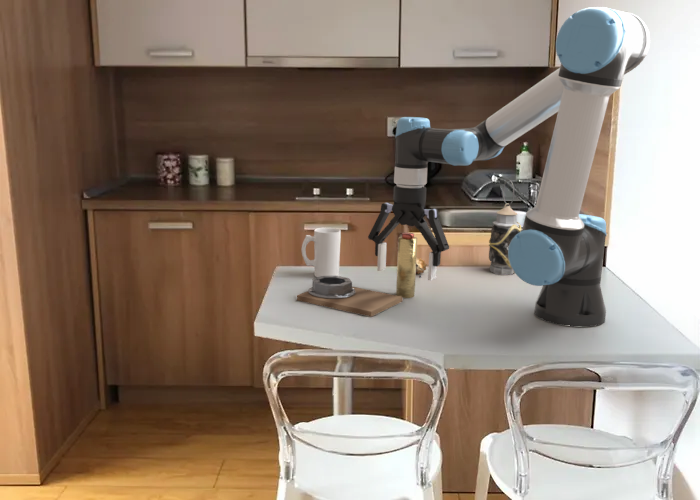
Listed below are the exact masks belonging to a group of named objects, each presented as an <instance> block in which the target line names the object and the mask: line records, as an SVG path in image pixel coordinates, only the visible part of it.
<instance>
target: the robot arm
mask: <svg viewBox="0 0 700 500" xmlns="http://www.w3.org/2000/svg"><path fill="white" fill-rule="evenodd" d="M650 44H651V38H650V31H649V29H648V26H647V25H646V23H645V22H644V21H643V19H642V18H640V16H638V15H636V14H634V13H632V12H628V11H622V10H617V9H612V8H610V7H609V8H608V7H606V6H602V7H601V6H600V7H599V6H594V7H593V6H592V7H586V8H582V9H580V10H578V11H576V12H574V13H573V14H572V15H570V16H569V17H568V18H566V20H565V21H564V22H563V23H562V25H561V26H560V28H559V31H558V33H557V35H556V40H555V52H556V56H557V57H558V61H559V62H560V67H559V68H557V69H555V70H554V71H553V72H551V73H550V74H549V75H547V76H546V77H545V78H543V79H541V80H540V81H538V82H537V83H536V84H534V85H533V86H532V87H530V88H528V89H527V90H525V92H523V93H521V94H520V95H518V96H517V97H516V98H514V99H513V100H512V101H510V102H508V103H507V104H505V106H503V107H501V108H500V109H499V110H497V111H496V112H494V113H492V115H489V117H487V118H486V119H485V120H483V121H482V122H480V123H479V124H477V125H476V126H474V127H466V128H450V129H448V128H434V127H431V122H430V119H429V118H426V117H419V116H418V117H416V116H404V117H400V118H398V120H397V122H396V129H395V136H394V138H395V160H394V161H395V162H394V171H393V172H394V173H393V174H394V175H393V183H394V184H396V185H394V187H393V199H392V200H393V203H391V202H384V203H381V206H380V211H379V214H378V216H377V218H376V220H375V222H374V223H373V226H372V228H371V230H370V232H369V234H368V236H367V238H368V239H367V240H370V241H372V242H374V245H375V247H374V256H375V257H377V265H376V266H377V268H376V270H377V272H381V271H385V270H386V268H387V267H386V266H387V264H386V263H387V242H385V240H386V239H387V238H388V236H390V234H391V233H392V232H393V231H394V230H395V229H396V228H397V227H398V226H399V224H400V225H401V226H405V225H406V226H409V227H414V226H415V228H416V229H417V230H418V231H419V232H420V234H421V235H422V237H423V239H424V240H425V242H426V243H427V245H428V247H429V248H430V249H431V251H429V255H428V272H427V273H428V275H427V281H433V280H435V279H437V268H438V266H439V267H440V266H441V265H440V264H441V257H442V252H445V251H447V250H449V249H450V245H449V243H448V240H447V237H446V234H445V232H444V229H443V227H442V224H441V221H440V219H439V210H438V209H437V208H436V207H435V208H431V209H430V208H429V209H428V208H426V203H427V202H426V200H427V187H426V184H427V183H428V163H429V162H431V163H439V164H443V165H445V164H446V165H452V166H455V167H456V166H469V165H471V164H472V163H473V162H476V161H488V160H490V159H494V158H496V157H499V155H501V153H502V152H503V150H504V148H505V147H506V146H507V145H509V144H511V143H512V142H514V141H515V140H517V139H518V138H520V137H522V136H523V135H524V134H526V133H527V132H529V131H531V130H532V129H534V128H536V127H537V126H538V125H539V124H541V123H543V122H544V121H546V120H547V119H549V118H550V117H553V116H554V115H555V114H557V115H556V119H555V124H554V129H553V132H552V136H551V141H550V145H549V149H548V153H547V157H546V160H545V161H546V162H545V165H544V170H543V174H542V178H541V182H540V186H539V191H538V195H537V200H536V204H535V206H534V207H532V208H531V209H529V210H527V211H526V213H525V216H524V219H523V221H524V222H523V226H522V228H521V231H520V232H519V233H518V234H517V235H516V236H515V237H514V238H513V239H512V240H511V242H510V245H509V249H508V258H509V262H510V265H511V267H512V268H513V270H514V271H515V273H514V274H515V275H516V277H518V278H519V279H520V280H522V281H523V282H525V283H526V284H528V285H530V286H535V287H541V290H540V292H539V294H538V295H537V296H538V297H537V298H536V301H535V305H534V316H536V317H537V318H539V319H540V320H543V321H545V322H547V323H552V324H555V325H559V326H565V325H570V326H569V327H574V326H590V327H596V326H600V325H602V324H604V323H605V322H606V315H607V310H606V305H605V301H604V295H603V291H602V287H601V281H602V273H603V272H602V271H603V264H604V257H605V256H604V254H605V246H606V239H607V238H606V237H607V234H608V233H607V223H606V220H605V219H604V218H603V217H600V216H596V215H595V216H594V215H590V214H589V215H588V214H582V213H581V214H580V212H581V209H582V206H583V205H582V204H583V200H584V196H585V193H586V189H587V185H588V181H589V177H590V172H591V169H592V166H593V162H594V159H595V155H596V150H597V146H598V143H599V139H600V135H601V131H602V127H603V123H604V119H605V115H606V112H607V108H608V104H609V100H610V97H611V96H612V94H613V93H615V92H617V91H618V90H620V89H621V88H622V84H623V83H622V82H623V79H624V76H625V75H626V74H628V73H630V72H632V71H633V70H635V69H636V68H637V67H638V66H639V65H640V64H642V62H643V61H644V60H645V58H646V56H647V54H648V52H649V49H650ZM391 212H392V213H393V215H394V216H393V218H391V219H390V221H389V223H388V224H387V225H386V226H385V227H384V224H385V223H386V221H387V219H388V217H389V215H390V213H391ZM425 216H426V218H427V219H428V220H429V224H430V227H431V228H430V227H429V226H428V223H427V220H426V219H425V218H424V217H425ZM383 227H384V228H383ZM382 228H383V229H382ZM431 229H432V231H431ZM595 325H596V326H595Z"/></svg>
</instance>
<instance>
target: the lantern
mask: <svg viewBox="0 0 700 500" xmlns="http://www.w3.org/2000/svg"><path fill="white" fill-rule="evenodd" d="M507 182H510V183H511V185H512V191H513V192H512V200H511V201H510V203H507V202H506V198H505V186H506V184H507ZM502 196H503V197H502V198H503V202H504V203H505V204H504V207H502V208H501V209H500V210H498V211H496V218H495V220H494V221H492V224H493V226H492V227H491V230H490V239H489V240H488V243H489V244H488V246H489V249H488V259H489V261H490V264H489V265H490V266H489V271H490V272H491V273H493V274H496V275H501V276H504V275H507V276H508V274H510V275H514V274H515V271H514V270H513V268H512V267H511V265H510V262H509V258H508V249H509V245H510V242H511V240H512V239H513V238H514V237H515V236H516V235H517V234H518V233H519V232H521V231H522V225H521V224H520V222H518V221H517V215H518V212H516V211H514V210H513V209H512V207H511V205H512V203H513V201H514V198H515V185H514V184H513V181H512V180H511V179H507V180H505V182H504V183H503V188H502ZM513 273H514V274H513Z"/></svg>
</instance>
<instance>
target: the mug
mask: <svg viewBox="0 0 700 500" xmlns="http://www.w3.org/2000/svg"><path fill="white" fill-rule="evenodd" d="M313 232H314V233H313V235H310V234H306V235H305V237H304V239H303V241H302V244H301V255H302V258H303V261H304V263H305V265H306V266H307V267H314V276H315V278H317V277H320V276H340V275H339V274H340V258H341V256H340V254H341V239H342V238H341V234H342V233H341V232H342V231H341V229H340V228H336V227H335V228H334V227H318V228H315V229H314V231H313ZM310 242H314V243H313V244H314V246H313V247H314V250H313V251H314V257H313V258H314V259H309V258H308V256H307V252H306V250H307V249H306V248H307V245H308V244H309V243H310Z"/></svg>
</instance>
